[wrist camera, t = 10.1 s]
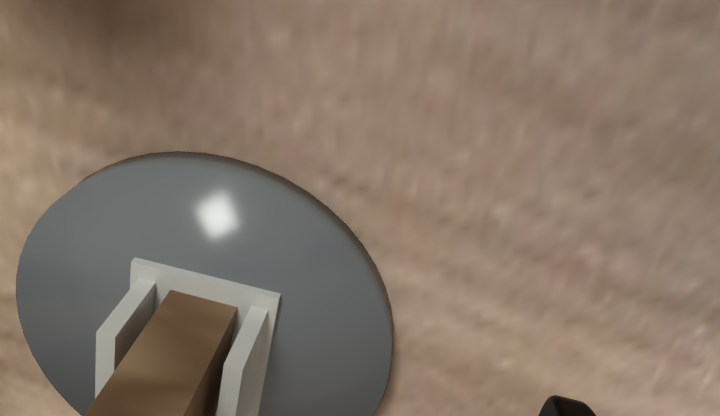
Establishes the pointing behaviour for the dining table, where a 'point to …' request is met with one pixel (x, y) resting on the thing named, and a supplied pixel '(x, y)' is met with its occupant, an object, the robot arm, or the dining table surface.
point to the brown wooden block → (172, 362)
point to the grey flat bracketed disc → (208, 284)
